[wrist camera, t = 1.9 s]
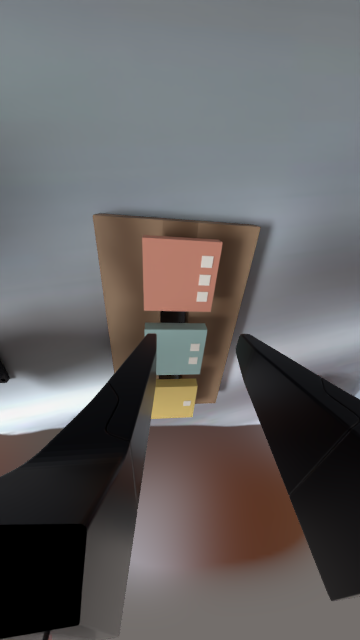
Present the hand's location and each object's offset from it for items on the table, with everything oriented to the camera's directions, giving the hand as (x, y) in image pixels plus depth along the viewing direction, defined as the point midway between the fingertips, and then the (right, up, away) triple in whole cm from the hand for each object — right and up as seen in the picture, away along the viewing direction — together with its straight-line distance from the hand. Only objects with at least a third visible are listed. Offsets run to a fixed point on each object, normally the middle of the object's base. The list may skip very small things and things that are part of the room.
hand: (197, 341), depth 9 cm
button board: (-2, 0, +15) cm, 15 cm away
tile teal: (-2, -1, +14) cm, 14 cm away
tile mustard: (-2, -8, +18) cm, 19 cm away
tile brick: (-1, +6, +9) cm, 11 cm away
